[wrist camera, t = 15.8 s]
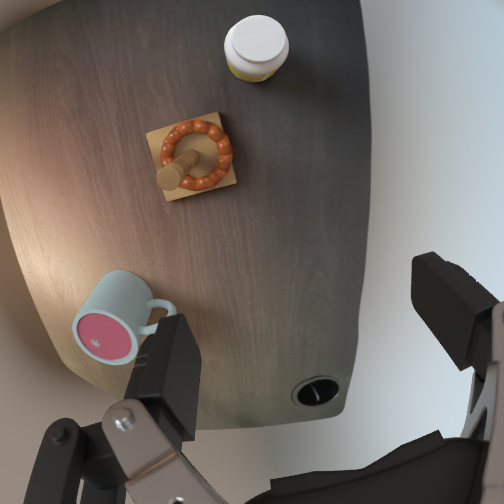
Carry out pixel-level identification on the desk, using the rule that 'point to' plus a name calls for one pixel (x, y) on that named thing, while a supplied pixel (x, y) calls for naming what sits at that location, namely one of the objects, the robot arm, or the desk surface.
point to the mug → (117, 317)
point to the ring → (213, 134)
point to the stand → (187, 159)
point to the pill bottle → (256, 48)
